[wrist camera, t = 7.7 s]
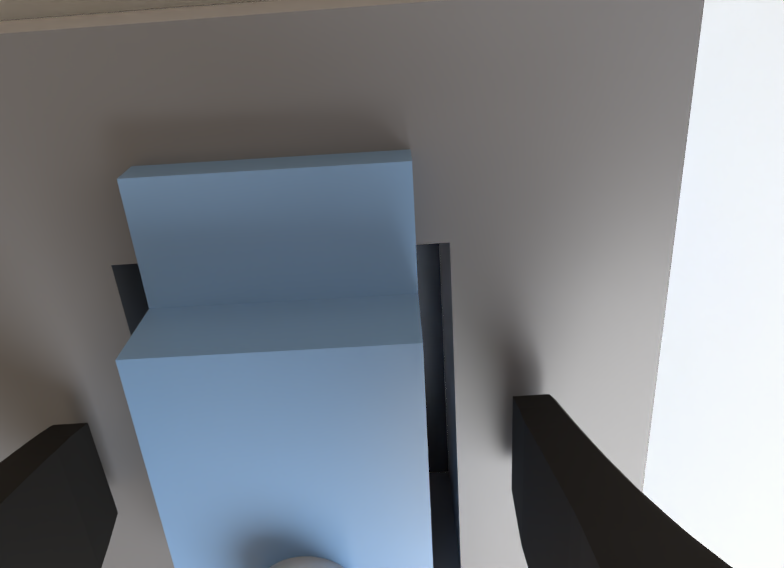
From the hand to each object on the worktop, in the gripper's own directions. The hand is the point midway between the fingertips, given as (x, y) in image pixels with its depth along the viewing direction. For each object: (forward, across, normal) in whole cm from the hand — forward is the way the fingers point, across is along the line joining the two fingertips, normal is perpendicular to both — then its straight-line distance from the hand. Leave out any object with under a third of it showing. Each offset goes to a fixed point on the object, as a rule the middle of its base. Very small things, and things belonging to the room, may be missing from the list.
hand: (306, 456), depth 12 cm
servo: (+3, 0, 0) cm, 3 cm away
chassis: (+3, 0, 0) cm, 3 cm away
